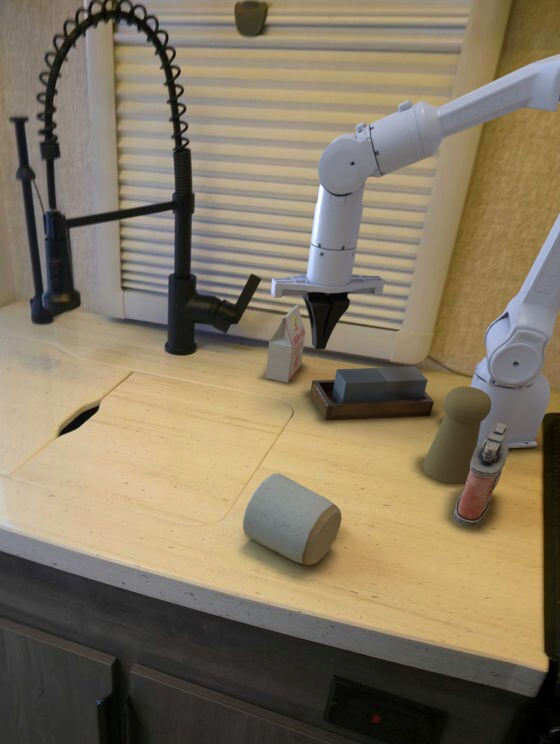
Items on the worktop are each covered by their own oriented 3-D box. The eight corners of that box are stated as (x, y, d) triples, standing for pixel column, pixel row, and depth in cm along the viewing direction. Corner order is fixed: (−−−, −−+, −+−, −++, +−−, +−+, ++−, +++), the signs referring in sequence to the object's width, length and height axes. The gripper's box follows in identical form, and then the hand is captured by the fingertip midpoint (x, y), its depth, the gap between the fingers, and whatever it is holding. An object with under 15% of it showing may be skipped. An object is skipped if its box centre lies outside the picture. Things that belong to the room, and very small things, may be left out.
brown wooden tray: (408, 390, 102) (415, 361, 99) (430, 415, 96) (438, 385, 93) (309, 394, 101) (314, 364, 98) (325, 420, 94) (330, 389, 91)
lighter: (479, 531, 74) (507, 455, 68) (448, 521, 76) (473, 446, 70) (493, 496, 80) (520, 423, 74) (464, 487, 81) (489, 415, 75)
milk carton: (265, 377, 105) (271, 316, 99) (279, 361, 110) (286, 302, 104) (287, 382, 104) (295, 320, 98) (300, 366, 109) (309, 306, 103)
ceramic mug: (304, 582, 67) (315, 522, 63) (238, 548, 71) (244, 489, 67) (353, 534, 74) (366, 476, 69) (290, 505, 78) (299, 449, 73)
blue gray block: (370, 392, 100) (376, 367, 97) (381, 406, 96) (387, 381, 94) (332, 394, 99) (336, 369, 97) (341, 408, 95) (345, 382, 93)
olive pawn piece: (475, 486, 81) (503, 406, 75) (424, 480, 82) (447, 400, 76) (468, 460, 86) (493, 382, 80) (420, 454, 87) (441, 377, 80)
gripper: (378, 234, 87) (359, 333, 96) (270, 236, 86) (260, 336, 94) (398, 249, 82) (376, 353, 90) (283, 252, 80) (271, 357, 89)
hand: (318, 346), depth 92 cm, fingers closed
